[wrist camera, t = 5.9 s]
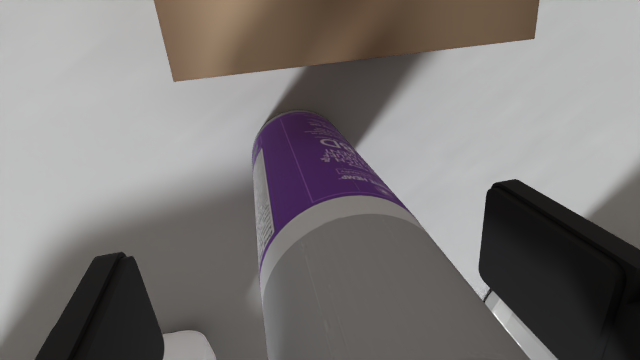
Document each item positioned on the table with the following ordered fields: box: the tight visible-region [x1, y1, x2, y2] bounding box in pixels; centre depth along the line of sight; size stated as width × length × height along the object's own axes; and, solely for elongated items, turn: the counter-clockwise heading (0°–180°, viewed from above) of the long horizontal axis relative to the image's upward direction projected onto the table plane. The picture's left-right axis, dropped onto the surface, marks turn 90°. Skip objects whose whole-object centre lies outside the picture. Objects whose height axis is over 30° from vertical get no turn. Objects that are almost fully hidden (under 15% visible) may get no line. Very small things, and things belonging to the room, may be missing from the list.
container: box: [252, 110, 530, 360], centre depth 12 cm, size 5×5×15 cm
